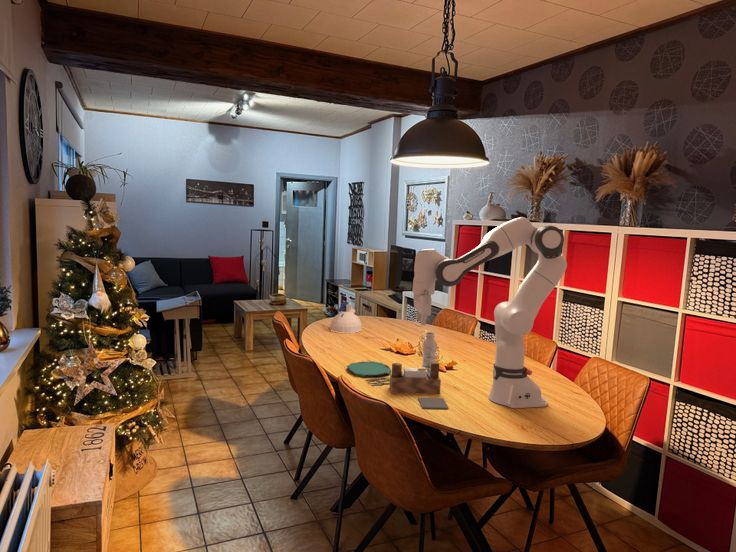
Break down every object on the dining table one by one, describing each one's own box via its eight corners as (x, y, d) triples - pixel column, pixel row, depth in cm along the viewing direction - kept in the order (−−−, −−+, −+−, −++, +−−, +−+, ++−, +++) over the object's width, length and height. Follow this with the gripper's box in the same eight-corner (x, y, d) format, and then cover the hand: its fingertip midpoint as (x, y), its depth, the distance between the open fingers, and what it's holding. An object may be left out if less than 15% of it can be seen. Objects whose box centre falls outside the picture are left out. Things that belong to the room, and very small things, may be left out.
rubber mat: (443, 399, 199) (443, 398, 199) (448, 409, 190) (448, 407, 190) (418, 399, 199) (418, 397, 199) (422, 408, 189) (422, 407, 189)
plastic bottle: (425, 373, 233) (427, 331, 230) (438, 376, 229) (440, 333, 226) (417, 376, 228) (419, 333, 226) (430, 379, 224) (432, 335, 221)
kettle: (367, 329, 321) (368, 301, 318) (353, 335, 302) (354, 306, 300) (339, 325, 329) (340, 298, 327) (323, 331, 310) (324, 302, 308)
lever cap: (425, 375, 211) (425, 366, 210) (426, 378, 206) (427, 369, 206) (403, 374, 210) (404, 365, 210) (405, 378, 206) (405, 369, 205)
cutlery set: (380, 363, 246) (380, 359, 245) (406, 384, 218) (407, 379, 218) (341, 367, 238) (341, 362, 238) (364, 389, 211) (364, 384, 210)
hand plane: (436, 388, 213) (438, 360, 211) (439, 393, 206) (441, 365, 205) (389, 387, 212) (390, 359, 210) (391, 393, 205) (392, 364, 203)
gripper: (436, 293, 192) (433, 328, 193) (426, 285, 212) (424, 318, 214) (420, 292, 191) (417, 327, 193) (412, 285, 212) (409, 317, 213)
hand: (421, 322), depth 203 cm, fingers open, 8 cm apart
